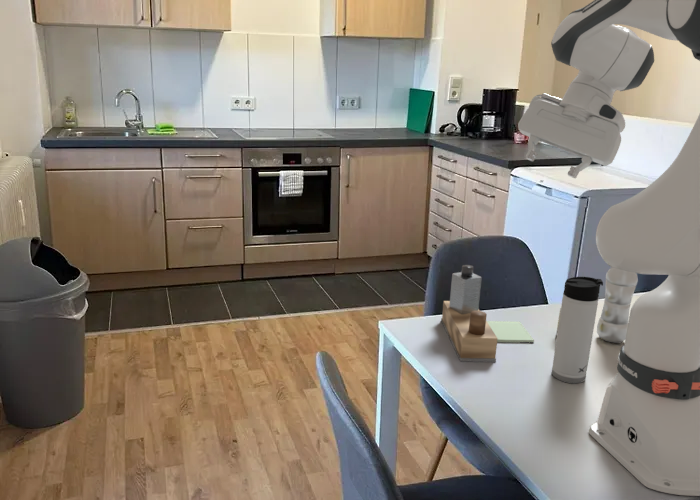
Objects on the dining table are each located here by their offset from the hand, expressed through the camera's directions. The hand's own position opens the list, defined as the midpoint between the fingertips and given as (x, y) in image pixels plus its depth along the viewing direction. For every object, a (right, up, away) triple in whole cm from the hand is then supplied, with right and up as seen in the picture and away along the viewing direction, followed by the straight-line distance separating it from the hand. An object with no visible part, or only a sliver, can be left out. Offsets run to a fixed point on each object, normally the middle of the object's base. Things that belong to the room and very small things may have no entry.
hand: (549, 167), depth 129 cm
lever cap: (-15, -30, +12) cm, 36 cm away
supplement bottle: (+8, -36, +13) cm, 39 cm away
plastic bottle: (+17, -37, +12) cm, 42 cm away
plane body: (-15, -36, +9) cm, 40 cm away
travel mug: (+2, -41, -6) cm, 42 cm away
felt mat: (-6, -35, +13) cm, 38 cm away
